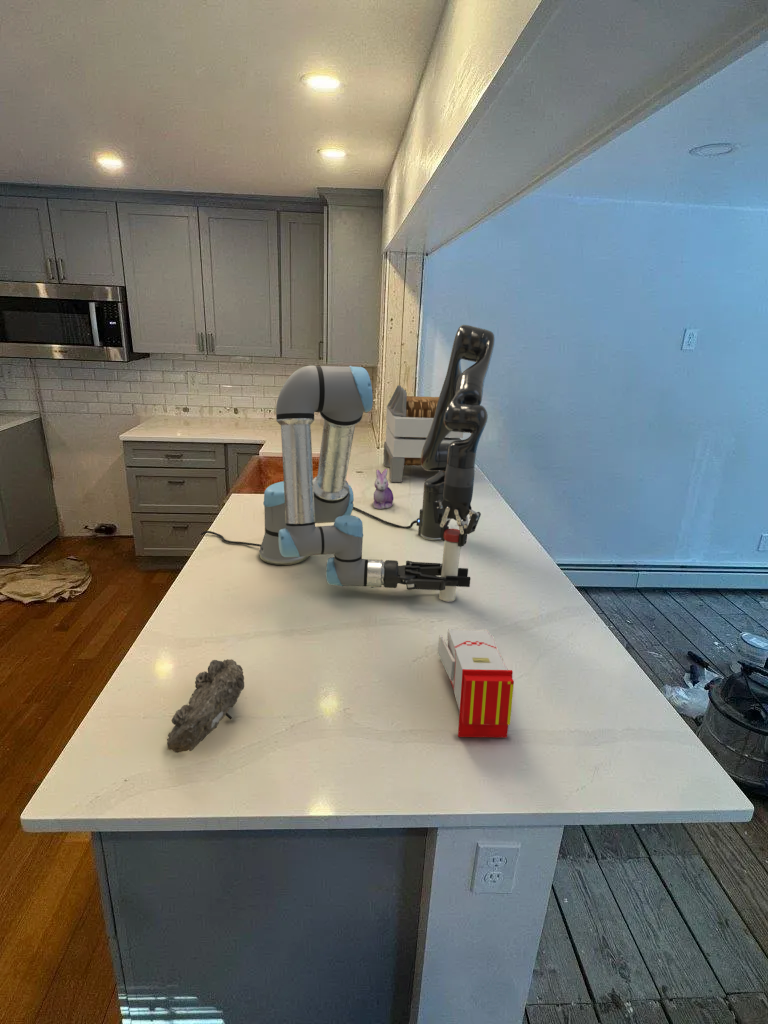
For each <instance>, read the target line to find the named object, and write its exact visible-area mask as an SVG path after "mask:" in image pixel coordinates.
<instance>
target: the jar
mask: <svg viewBox="0 0 768 1024" xmlns="http://www.w3.org/2000/svg"><path fill="white" fill-rule="evenodd" d="M461 549H462V547H459V546H458V542H449V541H446V540H444V541H443V550H442V551H443V553H442V562H441V564H442V571H441V576H440V577H445V578H446V576H458V568H460V557H461ZM438 591H439V593H438V598H439V600H441V601H443V602H449V603H451V602H454V601H455V600H456V595H457V586H445V590H438Z"/></svg>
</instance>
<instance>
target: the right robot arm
mask: <svg viewBox="0 0 768 1024" xmlns="http://www.w3.org/2000/svg"><path fill="white" fill-rule="evenodd" d="M495 341H496V337H495V334H494V332H492V330H489V329H485V328H481V327H477V326H473V325H468V324H461V325H459V327H458V329H457V331H456V333H455V336H454V339H453V344H452V347H451V352H450V357H449V361H448V366H447V370H446V374H445V377H444V381H443V384H442V387H441V391H440V394H439V396H438V397H439V399H438V403H437V407H436V411H435V415H434V418H433V422H432V425H431V428H430V431H429V433H428V436H427V438H426V441H425V443H424V446H423V449H422V453H421V465H422V466H421V467H422V469H423V470H424V471H427V472H437V473H435V475H433V476H431V477H428V478H427V479H425V480H424V482H423V493H422V496H423V497H422V506H421V508H420V509H419V516H418V518H416V520H413V521H412V522H411V523H410V525H408V526H405V525H404V526H403V525H400V524H396V523H394V522H391V521H387V520H384V519H382V518H380V517H378V516H376V515H373V514H372V513H369V512H367V511H365V510H362V509H360V508H358V507H356V506H353V509H352V510H355V511H357V512H359V513H361V514H363V515H366V516H368V517H370V518H373V519H375V520H377V521H379V522H381V523H383V524H386V525H388V526H392V527H395V528H398V529H405V530H409V529H412V527H413V526H414V525H415V524H416V526H417V527H418V530H417V535H418V536H420V538H421V539H424V540H426V541H432V542H440V541H443V542H444V540H445V539H444V531H445V530H446V529H450V526H449V524H450V523H451V520H454V521H456V525H457V526H458V530H460V534H459V541H458V546H459V547H461V548H462V547H465V545H466V544H467V542H468V535H470V534H472V533H474V532H475V531H476V528H477V526H478V524H479V521H480V518H481V516H482V513H481V512H480V511H475V510H473V509H472V504H471V503H472V500H473V493H474V492H473V491H474V483H475V472H476V471H475V466H476V460H477V459H476V457H477V451H478V447H479V443H480V439H481V437H482V434H483V433H484V431H485V428H486V425H487V423H488V418H489V417H488V415H489V414H488V411H487V409H486V407H485V406H484V405H482V401H483V393H484V384H485V381H486V377H487V373H488V370H489V367H490V363H491V359H492V355H493V352H494V348H495ZM461 360H464V361H468V362H473V364H471V365H470V366H469V367H468V368H466V369H465V370H464V371H463V370H462V365H461V364H462V363H461V362H462V361H461ZM462 371H463V372H462ZM451 431H453V432H463V434H464V433H465V434H470V436H468V437H467V438H465V439H461V440H458V441H453V442H451V443H441V442H442V441H443V439H444V438H445V437H446V436H447V435H448V434H449V433H450V432H451ZM468 516H469V517H468Z"/></svg>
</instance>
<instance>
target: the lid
mask: <svg viewBox="0 0 768 1024" xmlns="http://www.w3.org/2000/svg"><path fill="white" fill-rule="evenodd" d="M459 534H460V530H459V528H458V529H457V528H449V529H446V530H445V531H444V539H445V540H446V541H449V542H458V541H459Z"/></svg>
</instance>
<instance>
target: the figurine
mask: <svg viewBox="0 0 768 1024" xmlns="http://www.w3.org/2000/svg"><path fill="white" fill-rule="evenodd" d="M375 474H376V476H375V477H376V479H375V481H374V483H373V484H374V488H375V490H374V492H373V502H372V506H373V508H374V509H378V510H384V509H389V508H392V507H393V504H394V494H393V493H394V492H393V490H392V489H391V488H390V487H389V481H388V479H387V475H388V468H384V470H383V471H382V472H381V471H380V469H376V472H375Z"/></svg>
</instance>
